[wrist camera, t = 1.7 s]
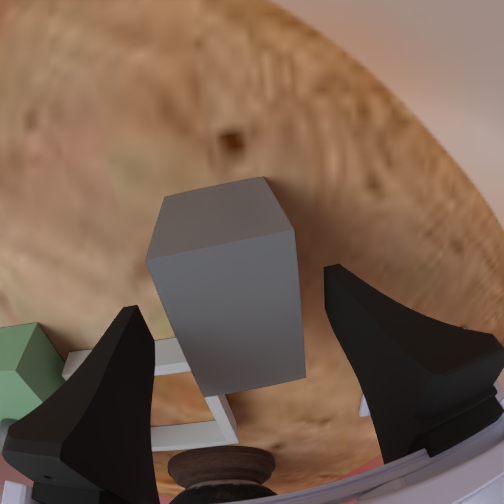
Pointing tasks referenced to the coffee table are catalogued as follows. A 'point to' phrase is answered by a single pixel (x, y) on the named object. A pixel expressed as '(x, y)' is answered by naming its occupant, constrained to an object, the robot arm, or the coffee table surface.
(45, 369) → the green block with dome
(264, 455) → the black ball on stand
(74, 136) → the coffee table surface
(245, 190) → the chute block
